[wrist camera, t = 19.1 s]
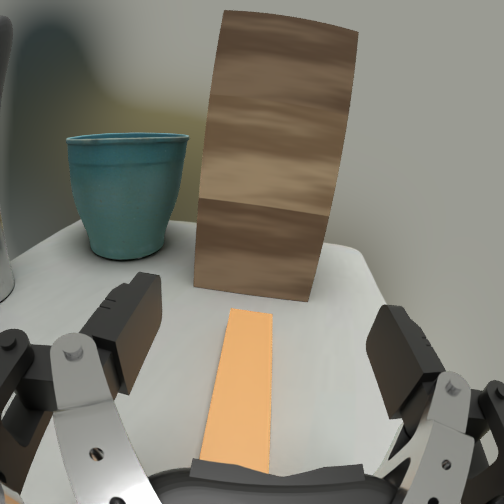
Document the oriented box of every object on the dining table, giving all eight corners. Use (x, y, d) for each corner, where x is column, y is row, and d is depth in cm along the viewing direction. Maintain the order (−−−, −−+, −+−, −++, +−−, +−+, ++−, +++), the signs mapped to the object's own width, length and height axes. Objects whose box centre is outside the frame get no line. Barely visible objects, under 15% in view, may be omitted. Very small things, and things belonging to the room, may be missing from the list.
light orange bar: (253, 574, 8) (262, 575, 6) (182, 565, 8) (178, 566, 6) (267, 337, 28) (272, 314, 27) (228, 331, 29) (230, 308, 27)
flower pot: (57, 240, 40) (52, 137, 33) (141, 217, 54) (145, 130, 47) (102, 288, 31) (95, 140, 24) (205, 248, 45) (216, 137, 38)
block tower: (307, 301, 35) (358, 32, 21) (193, 286, 34) (224, 10, 21) (298, 259, 46) (333, 56, 32) (210, 247, 45) (235, 40, 32)
